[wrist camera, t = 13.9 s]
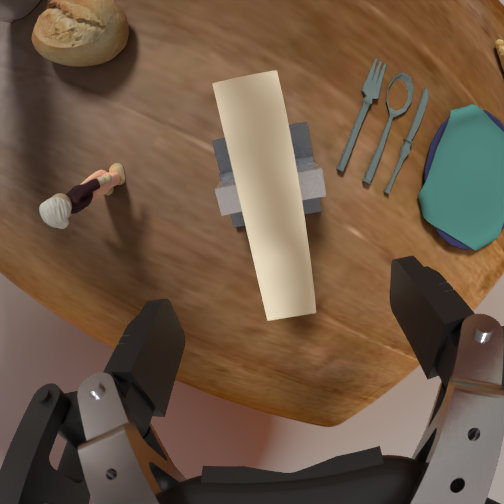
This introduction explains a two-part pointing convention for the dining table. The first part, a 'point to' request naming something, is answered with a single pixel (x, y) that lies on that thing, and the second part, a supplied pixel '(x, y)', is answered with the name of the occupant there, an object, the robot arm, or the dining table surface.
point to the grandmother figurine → (80, 196)
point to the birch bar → (268, 190)
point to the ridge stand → (306, 170)
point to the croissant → (500, 51)
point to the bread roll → (80, 32)
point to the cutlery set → (449, 167)
